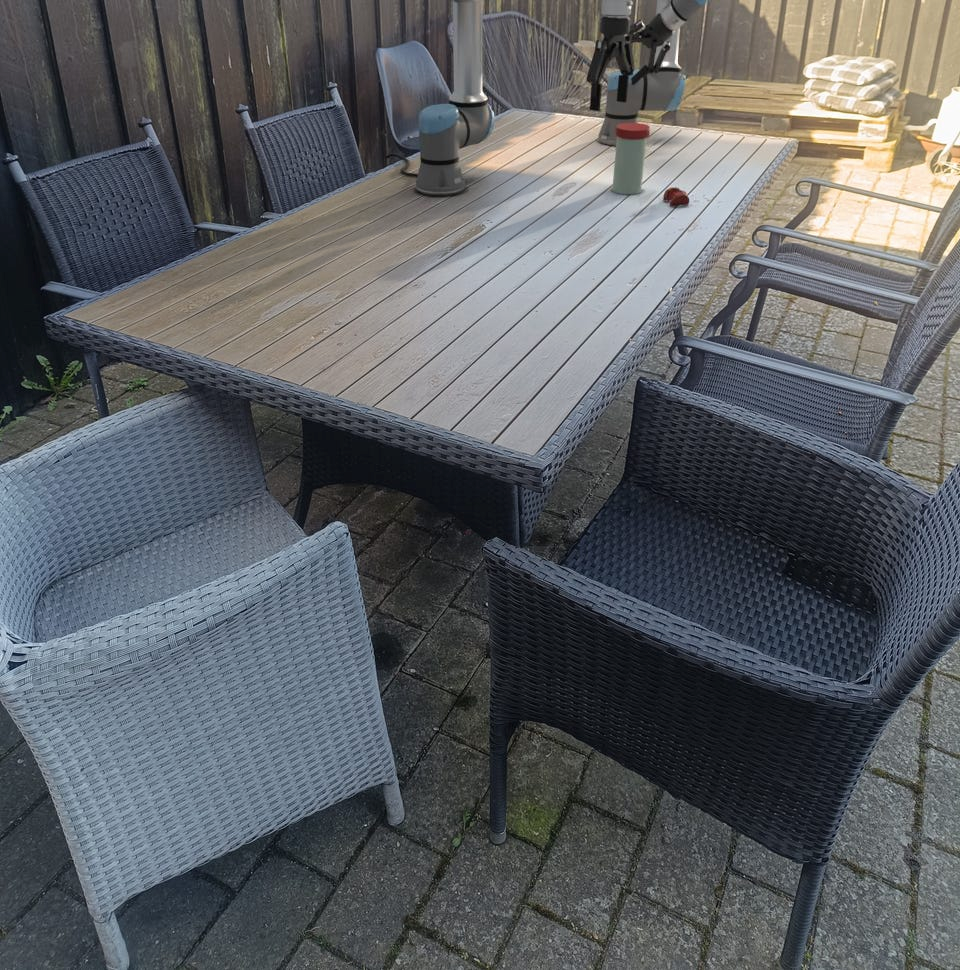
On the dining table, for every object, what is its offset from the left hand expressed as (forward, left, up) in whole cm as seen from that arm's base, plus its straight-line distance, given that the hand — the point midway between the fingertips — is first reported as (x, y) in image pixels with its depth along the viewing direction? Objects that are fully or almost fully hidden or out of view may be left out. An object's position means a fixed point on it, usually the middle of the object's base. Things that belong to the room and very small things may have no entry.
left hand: (608, 106), depth 226 cm
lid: (-4, +22, -10) cm, 24 cm away
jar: (-4, +22, -28) cm, 36 cm away
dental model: (+14, +20, -28) cm, 37 cm away
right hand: (-27, +49, -1) cm, 56 cm away
